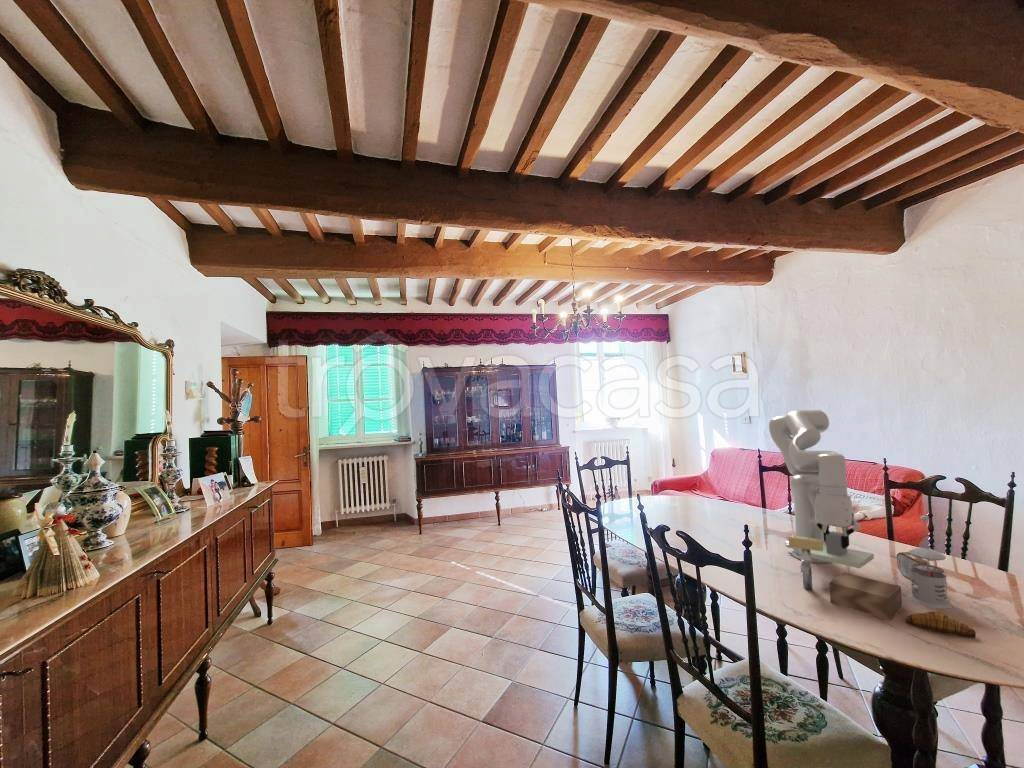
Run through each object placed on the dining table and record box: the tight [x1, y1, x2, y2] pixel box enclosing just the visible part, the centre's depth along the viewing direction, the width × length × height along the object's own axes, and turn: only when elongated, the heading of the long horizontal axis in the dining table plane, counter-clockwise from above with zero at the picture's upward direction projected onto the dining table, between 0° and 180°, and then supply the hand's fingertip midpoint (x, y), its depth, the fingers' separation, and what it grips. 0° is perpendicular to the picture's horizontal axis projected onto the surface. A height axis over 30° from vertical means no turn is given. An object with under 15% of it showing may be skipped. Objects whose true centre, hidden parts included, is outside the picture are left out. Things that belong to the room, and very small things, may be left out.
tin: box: [895, 551, 933, 583], centre depth 146 cm, size 15×3×8 cm, turn 168°
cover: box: [810, 530, 875, 569], centre depth 148 cm, size 16×14×8 cm
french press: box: [907, 515, 953, 609], centre depth 133 cm, size 10×12×25 cm
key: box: [787, 534, 823, 590], centre depth 140 cm, size 10×9×16 cm
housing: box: [828, 571, 903, 621], centre depth 131 cm, size 14×12×6 cm
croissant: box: [904, 611, 977, 638], centre depth 116 cm, size 14×7×5 cm, turn 54°
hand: (836, 545), depth 148 cm, fingers closed on cover, 4 cm apart
